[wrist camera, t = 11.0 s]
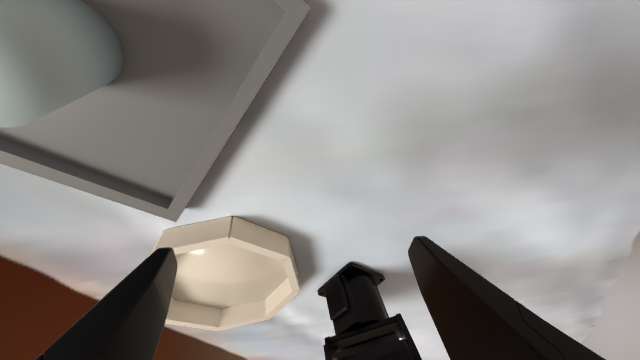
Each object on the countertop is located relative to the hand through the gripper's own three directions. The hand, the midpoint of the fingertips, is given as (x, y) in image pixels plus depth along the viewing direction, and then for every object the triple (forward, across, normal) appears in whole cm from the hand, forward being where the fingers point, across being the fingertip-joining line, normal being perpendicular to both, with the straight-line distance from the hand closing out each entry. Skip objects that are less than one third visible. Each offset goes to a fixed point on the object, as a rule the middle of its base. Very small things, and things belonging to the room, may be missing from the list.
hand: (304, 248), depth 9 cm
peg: (+11, +12, -5) cm, 16 cm away
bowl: (+12, +6, +16) cm, 21 cm away
